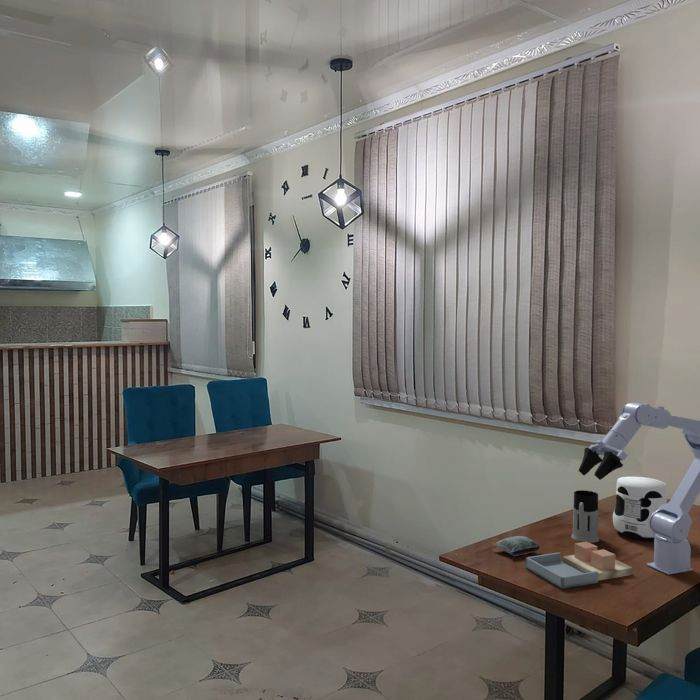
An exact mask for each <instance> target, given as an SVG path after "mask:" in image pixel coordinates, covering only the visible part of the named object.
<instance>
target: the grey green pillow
mask: <svg viewBox="0 0 700 700" xmlns="http://www.w3.org/2000/svg"><path fill="white" fill-rule="evenodd" d="M492 544H493V545H494V546H495V547H498V549H499V550H502V551H504V552H505V553H506V554H507V553H508V554H509V555H511V556H512V557H518V556H523V555H528V554H532V553H534V552H537V551H538V550H540V549H541V546H540V545H539V543H538V542H536V541H534V540H533V539H531V538H529V537H527V536H523V535H514V536H510V537H509V536H508V537H506V538H503V539H501V540H499V541H497V542H492Z"/></svg>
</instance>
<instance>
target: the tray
mask: <svg viewBox="0 0 700 700" xmlns="http://www.w3.org/2000/svg"><path fill="white" fill-rule="evenodd" d="M561 555H562V554H561V552H554V553H553V552H552V553H546V554H540V555H539V554H538V555H533V556H527V557H525V569H527V570H529V571H531V572H532V573H534V574H536V575H537V576H538V577H541V578H542V579H544V580H546V581H548V582H549V583H551V584H553V585H555V586H557V587H558V588H560V589H561V590H564V589H569V588H575V587H581V586H587V585H592V584H598V583H599V581H598V572H597V571H594V572H588V573H583V572H581V571H579V570H577V569H575V568H573V567H571V566H569V565H567V564H565V563H563V562H562V559H561V558H562V557H561Z"/></svg>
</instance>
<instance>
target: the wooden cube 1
mask: <svg viewBox="0 0 700 700" xmlns="http://www.w3.org/2000/svg"><path fill="white" fill-rule="evenodd" d="M596 550H598V546H597V545H595V544H593V543H589V542H580V541H579V542H575V543H574V550H573V555H574V557H576V558H578V559H580V560H582V561H584V562H588V561H591V551H596Z"/></svg>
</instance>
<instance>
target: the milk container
mask: <svg viewBox="0 0 700 700" xmlns="http://www.w3.org/2000/svg"><path fill="white" fill-rule="evenodd" d="M615 487H616V488H615V489H616V490H615V506H614V509H613V513H612V525H613V528H614V529H615V531H617V532H618V533H620V534H622V535H624V536H626V537H630V538H635V539H637V540H638V539H640V540H654V538H655V536H654V535H653V531H652V530H651V529H650V527H649V518H650V516H651V515H652V513H654V512H655V511H656V510H657V509H658V508H659V506H661V505H663V504H666V503H668V501H667V500H668V496H667V494H668V488H667V487H668V486H667V483H666V482H664V481H662V480H660V479H656V478H652V477H644V476H622V477H618V478H617V480H616V485H615Z"/></svg>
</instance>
